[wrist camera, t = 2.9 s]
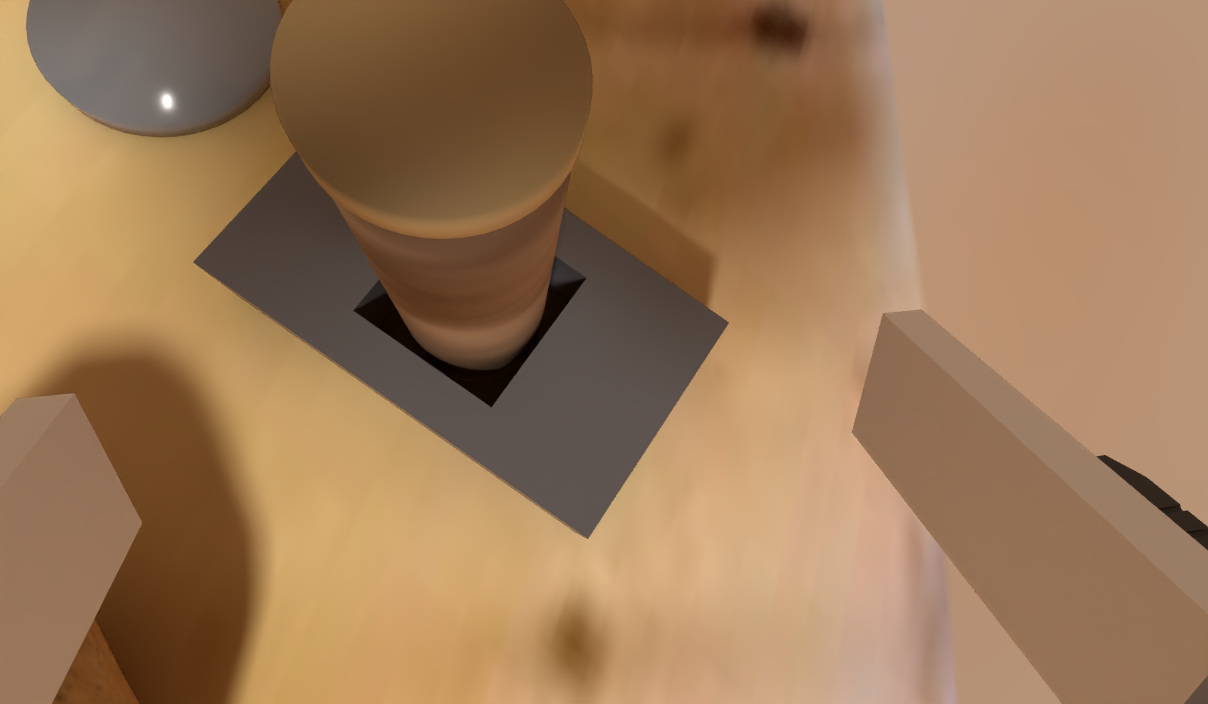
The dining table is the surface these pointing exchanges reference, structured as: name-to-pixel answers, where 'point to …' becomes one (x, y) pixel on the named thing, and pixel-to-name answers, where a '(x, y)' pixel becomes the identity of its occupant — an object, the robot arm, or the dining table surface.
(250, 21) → the coaster
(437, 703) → the dining table surface
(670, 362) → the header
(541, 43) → the plug
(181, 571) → the dining table surface
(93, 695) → the potato
